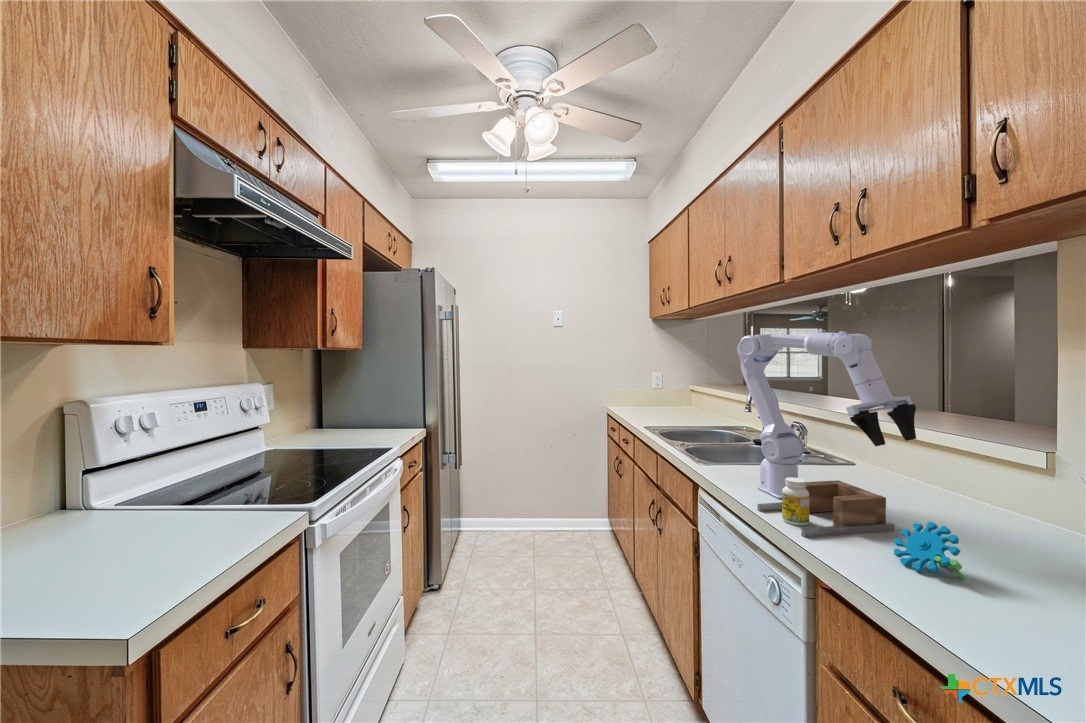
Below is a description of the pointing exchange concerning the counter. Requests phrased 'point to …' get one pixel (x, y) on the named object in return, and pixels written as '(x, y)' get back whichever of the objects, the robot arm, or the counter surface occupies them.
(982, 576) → the counter surface
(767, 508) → the guide rails
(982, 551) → the counter surface
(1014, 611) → the counter surface
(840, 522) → the housing
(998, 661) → the counter surface
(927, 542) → the gear
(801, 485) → the supplement bottle
